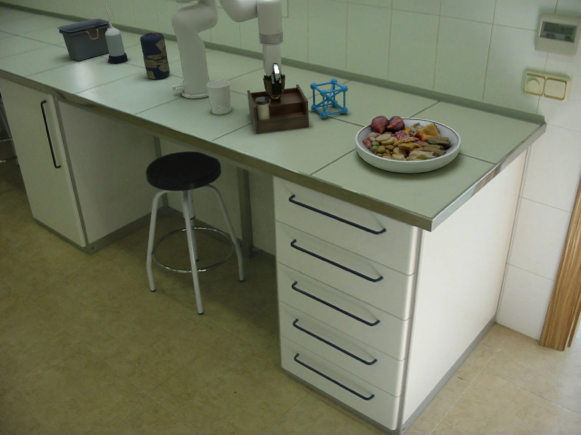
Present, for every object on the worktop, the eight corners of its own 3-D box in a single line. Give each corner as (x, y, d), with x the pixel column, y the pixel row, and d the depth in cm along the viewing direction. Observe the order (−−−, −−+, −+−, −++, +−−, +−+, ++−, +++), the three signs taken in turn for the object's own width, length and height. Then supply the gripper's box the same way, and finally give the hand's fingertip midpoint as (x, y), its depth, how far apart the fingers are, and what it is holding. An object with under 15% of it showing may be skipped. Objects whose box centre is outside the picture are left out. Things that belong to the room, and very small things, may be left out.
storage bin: (104, 47, 287) (97, 17, 279) (120, 53, 277) (114, 21, 269) (62, 58, 275) (54, 27, 267) (78, 65, 265) (70, 32, 257)
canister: (159, 81, 240) (151, 36, 230) (142, 78, 244) (133, 34, 235) (175, 74, 247) (168, 30, 237) (158, 71, 251) (150, 28, 241)
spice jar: (258, 123, 191) (256, 102, 187) (256, 118, 195) (254, 97, 191) (271, 121, 192) (269, 100, 188) (269, 116, 195) (267, 96, 191)
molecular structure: (309, 110, 206) (308, 82, 200) (335, 104, 209) (335, 77, 204) (322, 120, 198) (321, 91, 193) (349, 114, 201) (349, 85, 196)
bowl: (481, 155, 170) (485, 130, 166) (406, 189, 156) (407, 163, 152) (406, 124, 191) (408, 101, 187) (334, 151, 177) (333, 127, 173)
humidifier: (106, 61, 267) (93, 4, 254) (122, 57, 272) (110, 0, 258) (114, 65, 262) (102, 6, 248) (131, 60, 266) (119, 2, 253)
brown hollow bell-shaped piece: (284, 103, 195) (282, 80, 190) (262, 103, 196) (260, 79, 192) (288, 95, 201) (287, 72, 197) (267, 95, 202) (265, 72, 198)
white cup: (215, 117, 205) (211, 89, 200) (206, 109, 211) (203, 82, 206) (236, 112, 208) (232, 84, 203) (227, 105, 214) (224, 78, 209)
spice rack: (255, 133, 192) (253, 107, 187) (249, 115, 205) (247, 90, 200) (309, 126, 194) (308, 100, 189) (299, 109, 207) (298, 84, 202)
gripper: (255, 31, 194) (259, 82, 204) (263, 46, 180) (267, 100, 189) (278, 29, 195) (281, 79, 205) (287, 44, 181) (290, 97, 190)
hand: (274, 89), depth 197 cm, fingers open, 9 cm apart
